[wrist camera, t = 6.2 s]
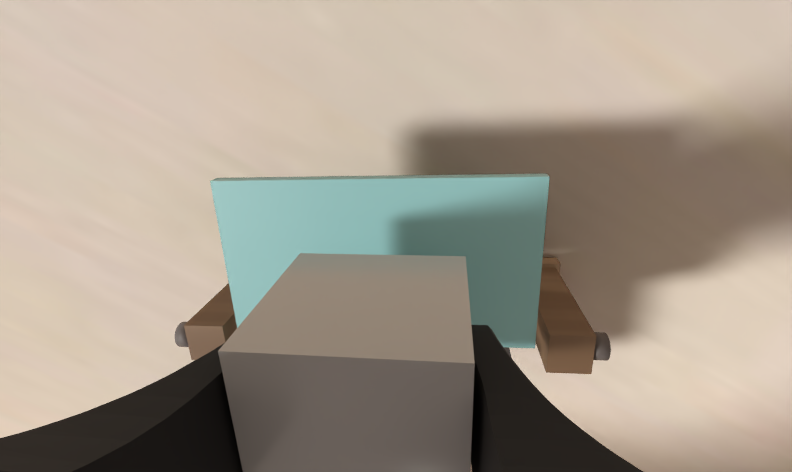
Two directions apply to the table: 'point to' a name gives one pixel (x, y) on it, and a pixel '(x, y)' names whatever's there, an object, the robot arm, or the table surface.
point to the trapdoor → (394, 233)
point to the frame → (555, 336)
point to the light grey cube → (355, 367)
